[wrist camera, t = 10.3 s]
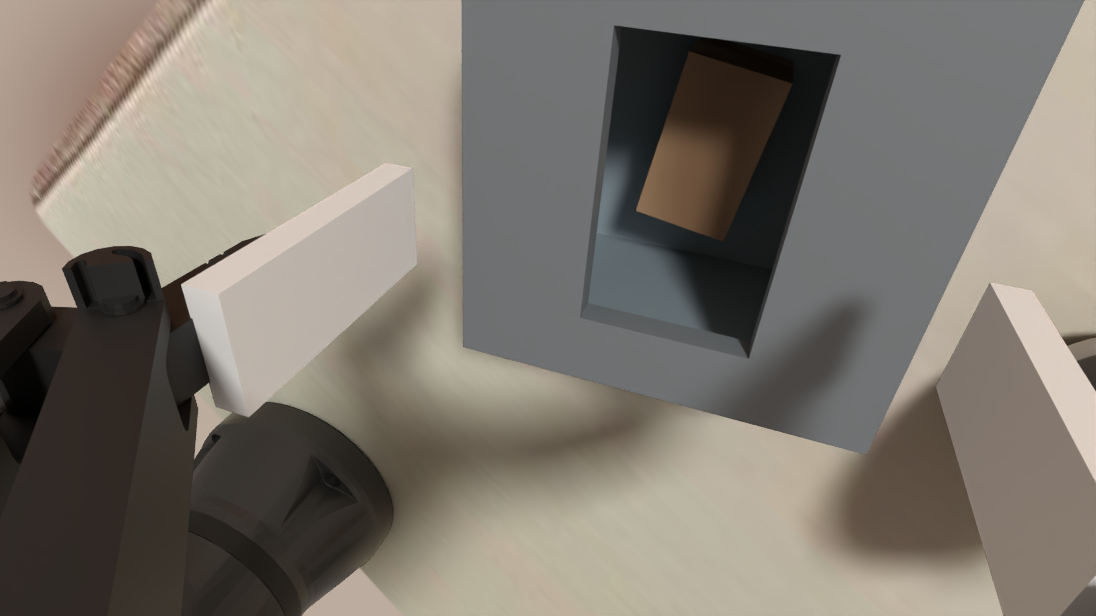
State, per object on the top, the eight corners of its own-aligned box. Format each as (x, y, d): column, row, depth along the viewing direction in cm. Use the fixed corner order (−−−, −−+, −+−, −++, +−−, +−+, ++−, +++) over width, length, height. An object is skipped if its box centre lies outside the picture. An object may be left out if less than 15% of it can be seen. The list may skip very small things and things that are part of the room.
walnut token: (654, 176, 28) (635, 210, 24) (703, 33, 24) (689, 51, 21) (732, 203, 27) (723, 241, 24) (793, 61, 24) (792, 83, 20)
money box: (549, 236, 31) (463, 347, 23) (575, -98, 24) (461, -105, 16) (847, 300, 28) (866, 454, 20) (987, -63, 21) (1107, -50, 13)
